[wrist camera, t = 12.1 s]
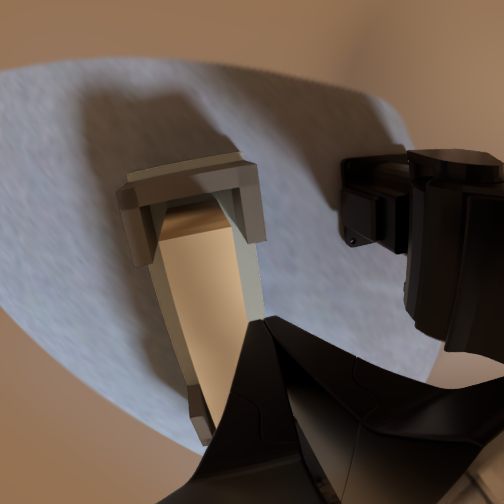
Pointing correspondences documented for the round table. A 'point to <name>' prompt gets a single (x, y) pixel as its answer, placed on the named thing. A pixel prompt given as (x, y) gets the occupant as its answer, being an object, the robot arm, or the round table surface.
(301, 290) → the round table surface
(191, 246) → the slat
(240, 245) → the slat rail
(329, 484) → the supplement bottle
